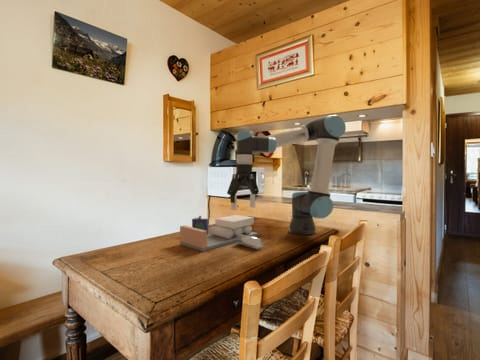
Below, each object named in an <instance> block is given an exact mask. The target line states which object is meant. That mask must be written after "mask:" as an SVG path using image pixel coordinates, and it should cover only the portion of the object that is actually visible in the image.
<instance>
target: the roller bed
mask: <svg viewBox="0 0 480 360" xmlns="http://www.w3.org/2000/svg"><path fill="white" fill-rule="evenodd" d="M252 230H253V228H252V224H251V225H247V226H243V227H239V228H234V229H232V228H227V227H222V226H218V225H211V226H210V228H209V233H208V235H207V231H206V230H201V229H197V228H193V227H192V226H188V225H180V226H179V238H180V245H182V246H185V247H188V248H190V249H194V250H197V251H200V252H207V251H210V250H213V249H217V248H220V247H224V246H228V245H231V244H234V243H236V237H237V235H239V234H242V235H246V236H250V237H255V238H257V237H259V233H258V232H254V231H252Z"/></svg>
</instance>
